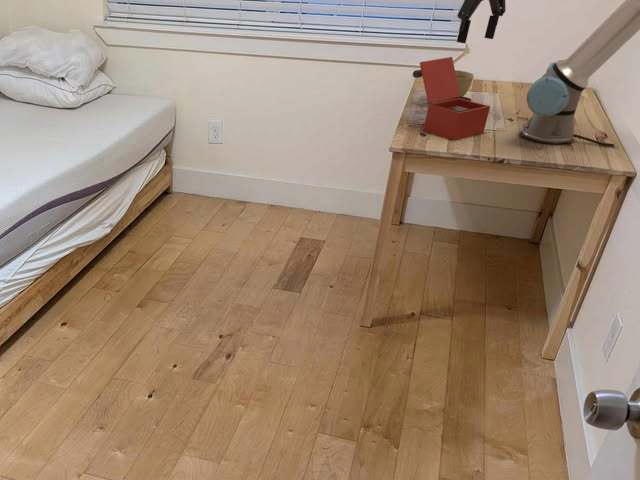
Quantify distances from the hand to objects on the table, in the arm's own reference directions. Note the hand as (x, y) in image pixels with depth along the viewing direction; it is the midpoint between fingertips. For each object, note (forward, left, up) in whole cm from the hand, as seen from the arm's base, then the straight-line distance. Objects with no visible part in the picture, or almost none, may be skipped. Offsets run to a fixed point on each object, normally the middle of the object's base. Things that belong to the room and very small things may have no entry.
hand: (475, 40), depth 216 cm
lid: (+9, 0, -13) cm, 16 cm away
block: (0, 0, -28) cm, 28 cm away
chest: (0, 0, -29) cm, 29 cm away
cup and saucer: (+12, -17, -29) cm, 36 cm away
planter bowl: (+27, -29, -29) cm, 49 cm away
